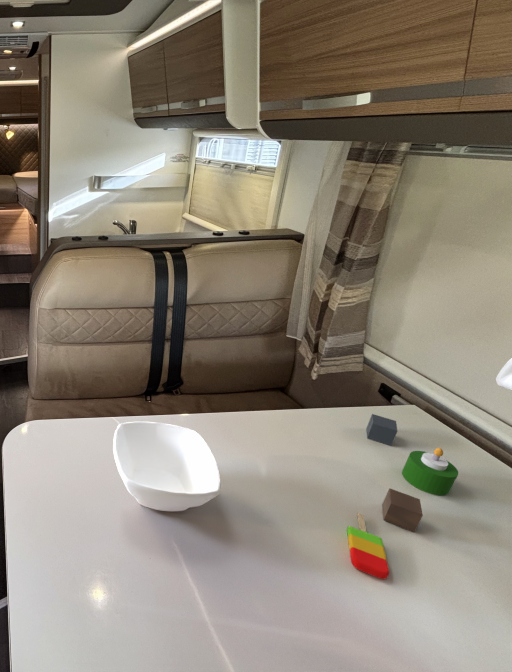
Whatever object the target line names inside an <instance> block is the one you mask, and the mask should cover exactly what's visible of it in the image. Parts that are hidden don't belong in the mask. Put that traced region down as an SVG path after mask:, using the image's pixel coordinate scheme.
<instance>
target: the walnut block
mask: <svg viewBox="0 0 512 672" xmlns="http://www.w3.org/2000/svg"><path fill="white" fill-rule="evenodd" d="M381 506H382V518H383V521H385V522H387V523H389V524H392V525H394V526H397V527H399V528H402V529H404V530H407V531H409V532H412V533H415V532H416V531H417V528H418V527H419V524H420V522H421V520H422V518H423V517H424V515H423V509H422V503H421V499H420V498H418V497H415V496H413V495H410V494H408V493H407V494H406V493H404V492H401V491H398V490H396V489H393V488H388V490H387V492H386V495H385V497H384V499H383V502H382V504H381Z"/></svg>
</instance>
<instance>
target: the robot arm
mask: <svg viewBox="0 0 512 672" xmlns="http://www.w3.org/2000/svg"><path fill="white" fill-rule="evenodd" d="M495 382H496V384H497V386H498V387H501V388H502V389H503V388H504V389H506V390H509V391H512V358H510V359H508V360H507V361H506V363H505V364H504V365H503V366H502V367H501V369H500V370H499V372H498V374H497V375H496V377H495Z"/></svg>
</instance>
